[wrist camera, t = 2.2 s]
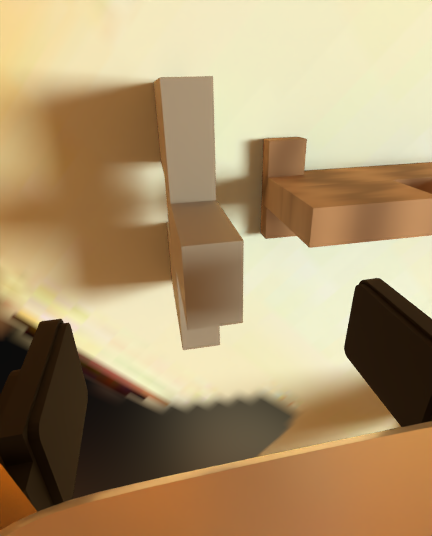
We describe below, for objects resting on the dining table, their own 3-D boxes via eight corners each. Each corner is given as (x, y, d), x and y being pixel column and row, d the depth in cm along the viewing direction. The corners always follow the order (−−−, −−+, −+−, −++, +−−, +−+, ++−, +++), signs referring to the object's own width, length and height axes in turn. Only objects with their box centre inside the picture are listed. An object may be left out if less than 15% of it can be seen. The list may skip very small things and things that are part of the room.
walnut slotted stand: (500, 126, 32) (638, 140, 23) (473, 212, 35) (583, 253, 27) (263, 138, 28) (318, 160, 20) (260, 232, 32) (305, 286, 23)
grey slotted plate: (199, 276, 33) (241, 416, 19) (171, 279, 32) (194, 424, 18) (188, 81, 26) (245, 69, 12) (153, 82, 25) (168, 70, 11)
